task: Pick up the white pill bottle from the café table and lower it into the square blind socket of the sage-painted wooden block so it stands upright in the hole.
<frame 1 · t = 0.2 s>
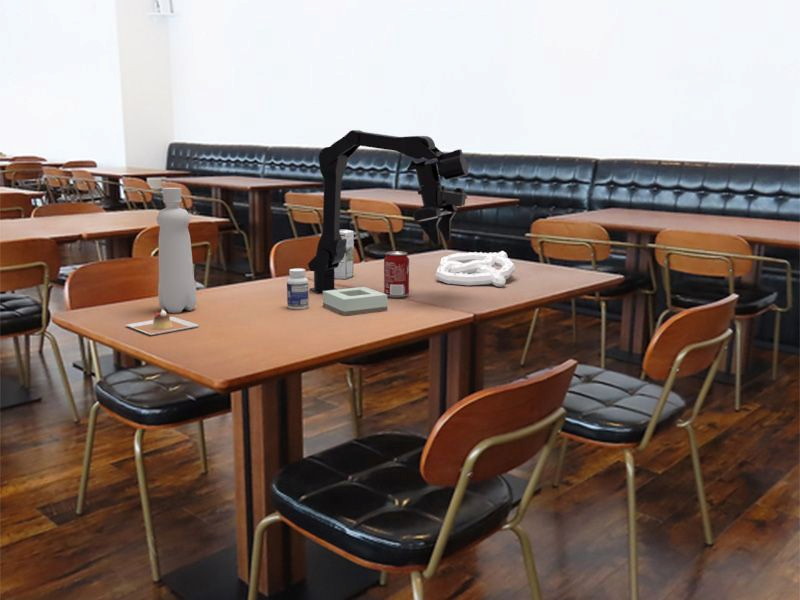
hand: (442, 243, 202), 15 cm above the table, tool pointing down, fingers open, 9 cm apart
soda can: (396, 297, 210), on the table
syrup box: (341, 278, 238), on the table
white coiled rope knot: (475, 279, 237), on the table
bottle: (178, 310, 192), on the table
bore block: (354, 308, 195), on the table
dessert: (162, 330, 175), on the table
pill bottle: (298, 308, 196), on the table
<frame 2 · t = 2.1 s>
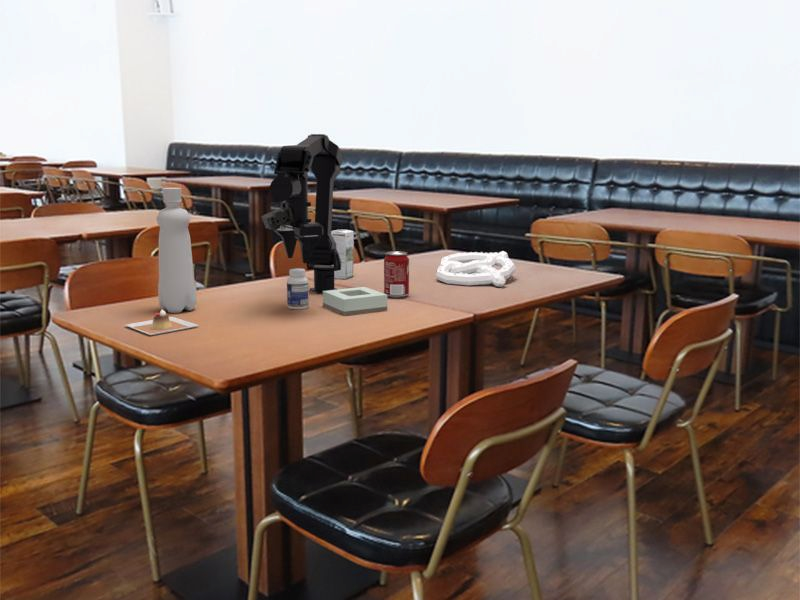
hand: (297, 260, 193), 12 cm above the table, tool pointing down, fingers open, 9 cm apart
nothing on the table moved.
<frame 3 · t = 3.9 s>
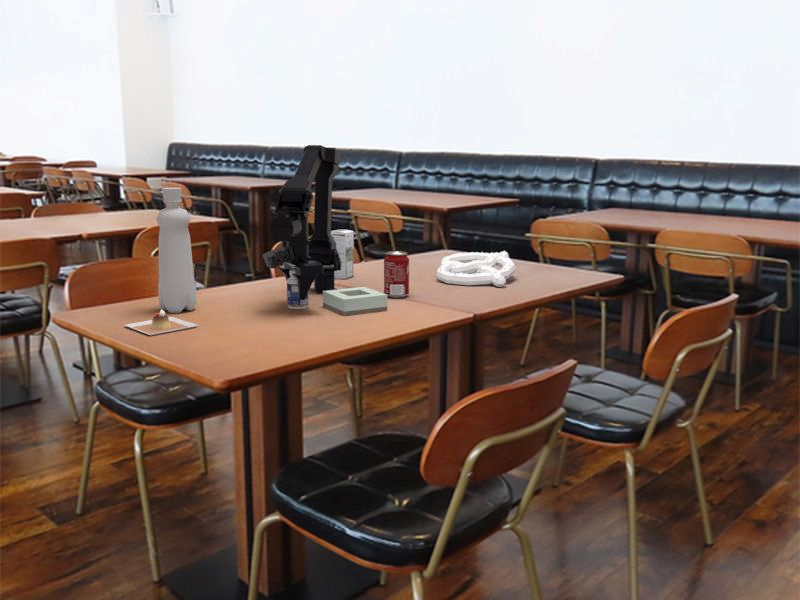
hand: (297, 297, 195), 3 cm above the table, tool pointing down, fingers closed on pill bottle, 5 cm apart
pill bottle: (298, 308, 196), on the table, touching gripper
everything else where it was.
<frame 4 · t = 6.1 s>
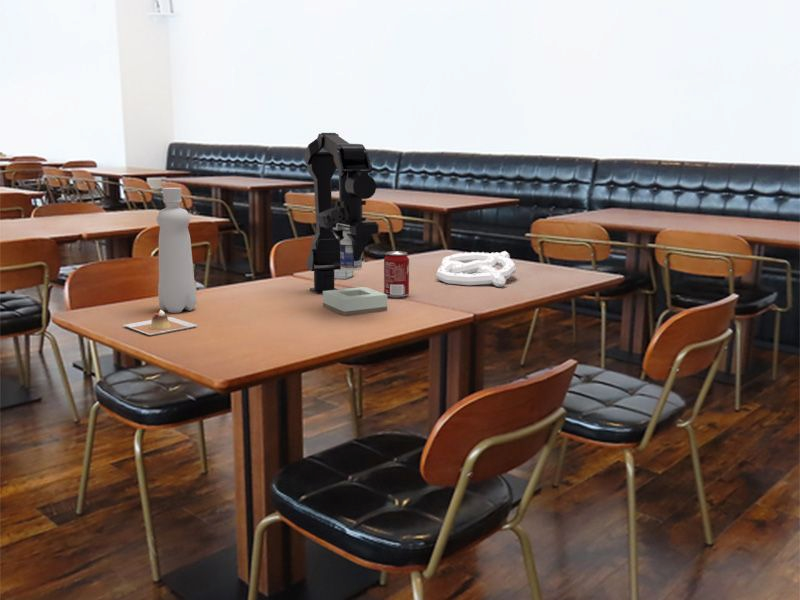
hand: (351, 259, 192), 13 cm above the table, tool pointing down, fingers closed on pill bottle, 5 cm apart
pill bottle: (351, 270, 193), point 10 cm above the table, touching gripper
everything else where it was.
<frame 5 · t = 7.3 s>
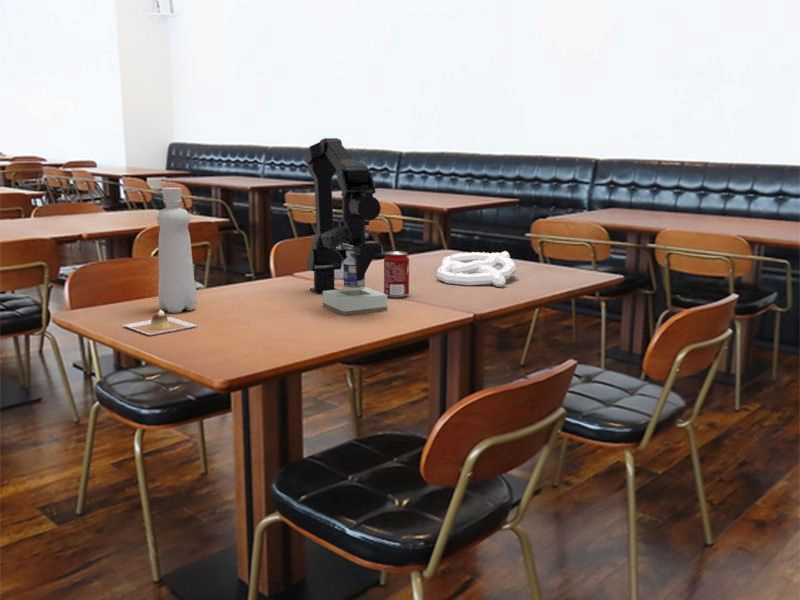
hand: (354, 278, 194), 8 cm above the table, tool pointing down, fingers closed on pill bottle, 5 cm apart
pill bottle: (354, 289, 194), point 5 cm above the table, touching gripper
everything else where it was.
when the fingers open (5 cm above the table, at t = 8.4 s): pill bottle drops 1 cm, resting on bore block.
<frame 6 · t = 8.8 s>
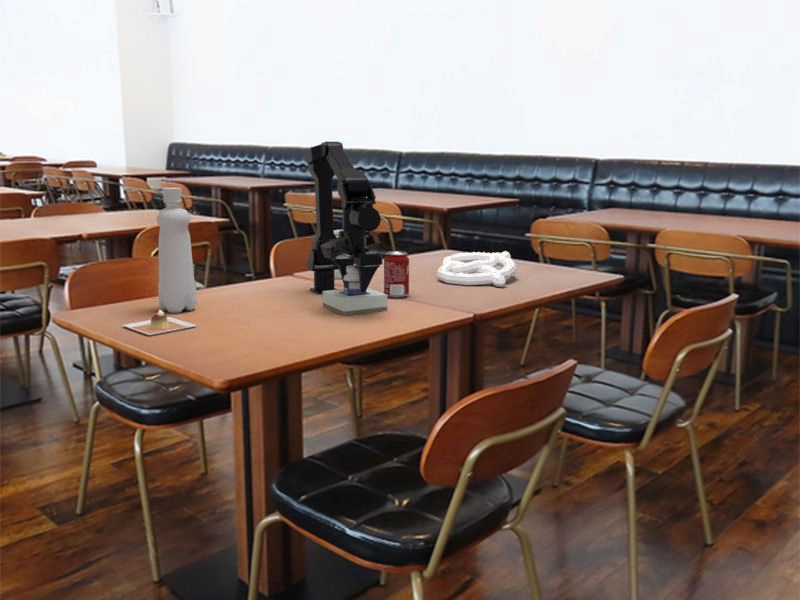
hand: (354, 289, 194), 5 cm above the table, tool pointing down, fingers open, 9 cm apart
pill bottle: (354, 305, 195), point 1 cm above the table, touching bore block
everything else where it was.
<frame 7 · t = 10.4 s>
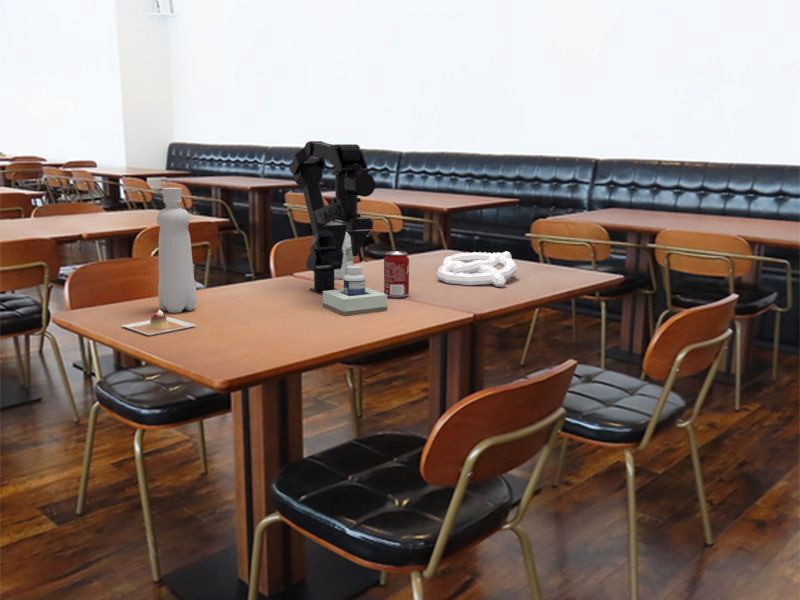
hand: (346, 253, 202), 12 cm above the table, tool pointing down, fingers open, 9 cm apart
nothing on the table moved.
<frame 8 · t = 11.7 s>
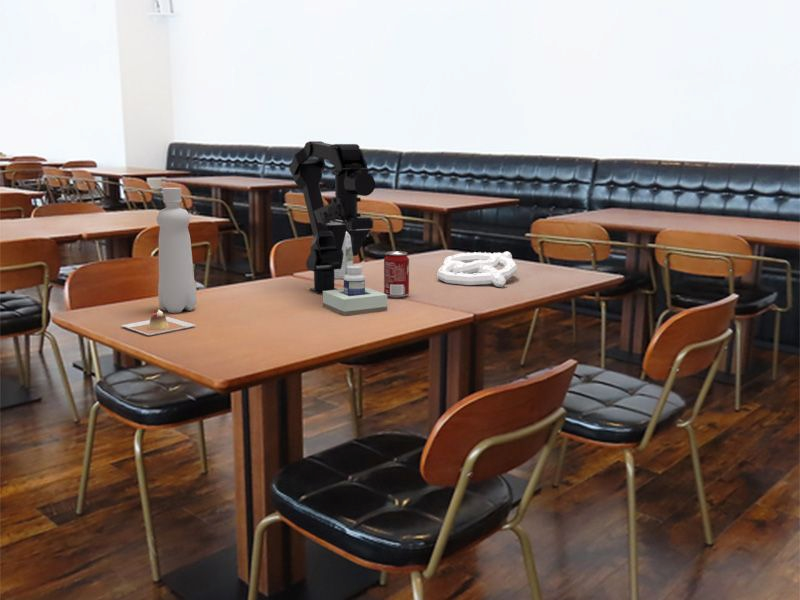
hand: (346, 253, 202), 13 cm above the table, tool pointing down, fingers open, 9 cm apart
nothing on the table moved.
at the end: pill bottle 0.1 cm off-centre on the bore block, point 0.8 cm above the bore block's base; pill bottle tilted 0°; the gripper is holding nothing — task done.
